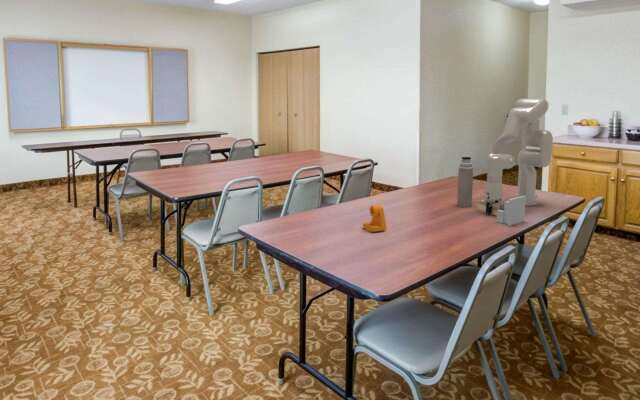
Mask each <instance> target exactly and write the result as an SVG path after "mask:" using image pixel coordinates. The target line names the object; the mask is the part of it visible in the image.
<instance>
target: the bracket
mask: <svg viewBox="0 0 640 400" xmlns="http://www.w3.org/2000/svg"><path fill="white" fill-rule="evenodd" d="M369 214H370V216H371V221H364V222H362V227H363V228H364V230H366V231H367V232H368V233H375V232H382V231H387V222H386V217H385V211H384V207H383V205H382V204H376V205H374V204H373V205H371V206H370V207H369Z"/></svg>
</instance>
